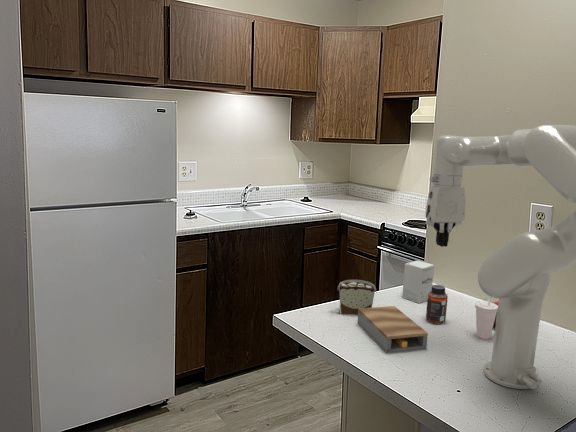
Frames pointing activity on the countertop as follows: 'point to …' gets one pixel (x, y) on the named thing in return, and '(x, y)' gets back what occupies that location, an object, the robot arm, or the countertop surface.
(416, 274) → the supplement box
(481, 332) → the smoothie
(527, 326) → the robot arm
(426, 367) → the countertop surface
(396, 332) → the lid
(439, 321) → the supplement bottle
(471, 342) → the countertop surface
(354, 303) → the food container
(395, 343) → the bar
